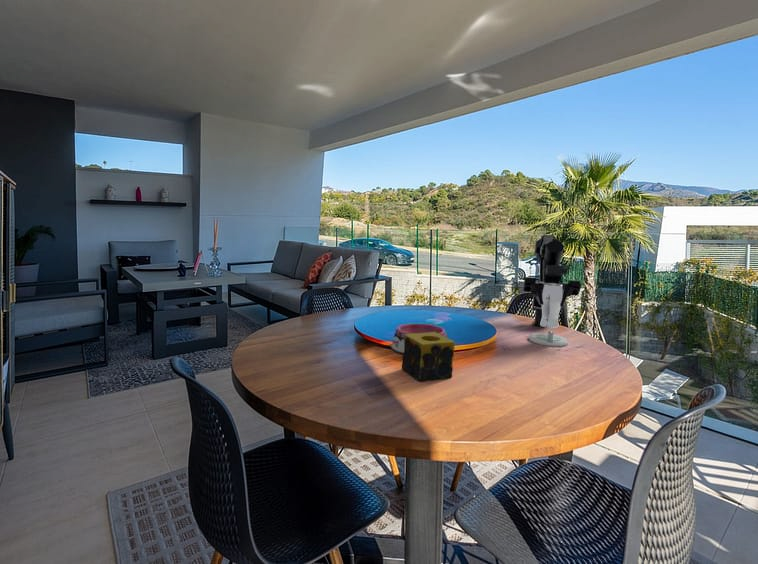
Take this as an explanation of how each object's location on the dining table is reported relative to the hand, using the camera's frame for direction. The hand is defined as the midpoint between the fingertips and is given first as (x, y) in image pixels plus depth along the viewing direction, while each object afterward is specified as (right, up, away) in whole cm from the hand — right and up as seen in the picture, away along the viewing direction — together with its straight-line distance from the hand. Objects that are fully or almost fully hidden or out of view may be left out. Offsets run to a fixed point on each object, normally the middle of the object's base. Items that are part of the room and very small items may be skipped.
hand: (551, 305), depth 145 cm
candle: (-47, -16, -34) cm, 61 cm away
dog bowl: (-47, -14, -11) cm, 50 cm away
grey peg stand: (0, -13, +3) cm, 13 cm away
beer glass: (0, -8, +2) cm, 8 cm away
